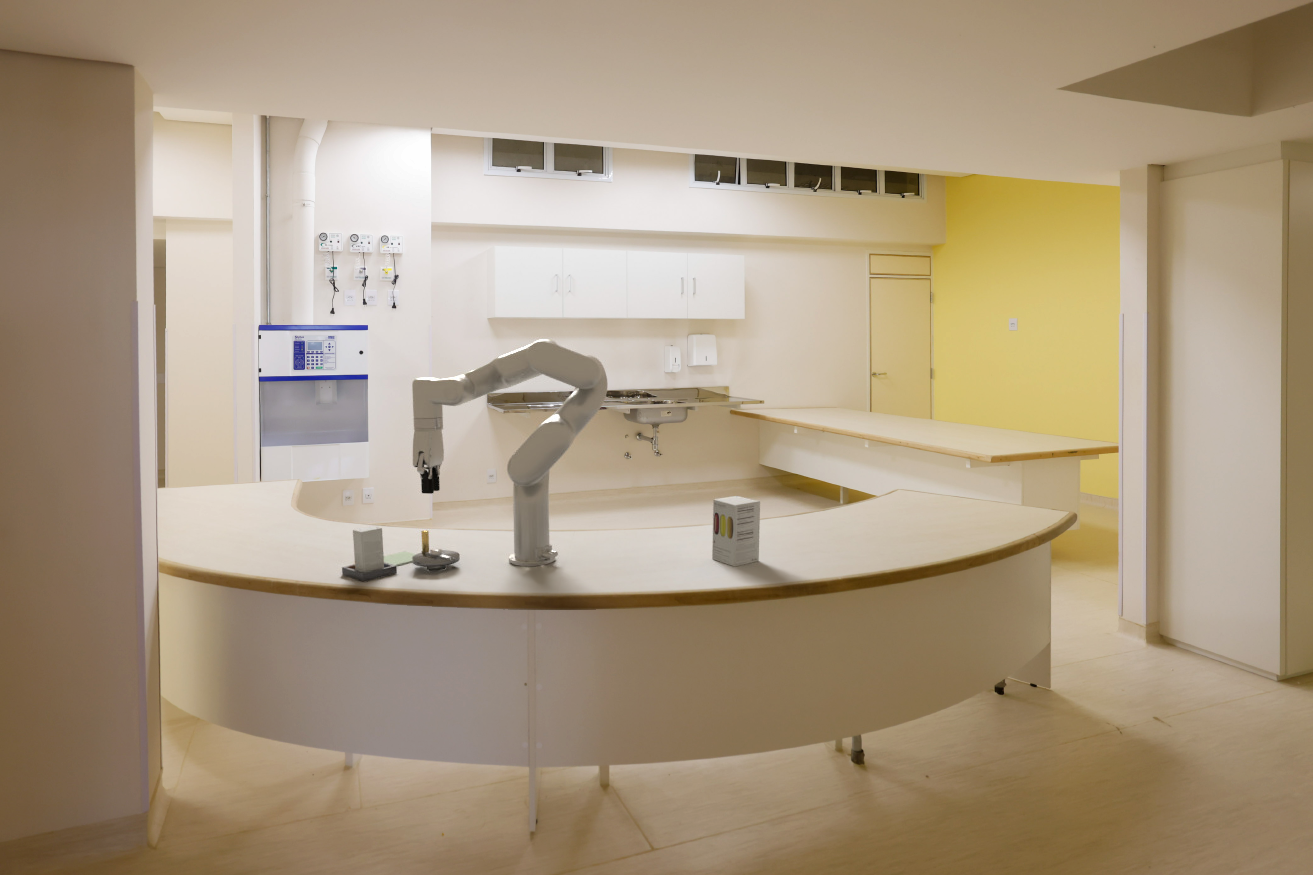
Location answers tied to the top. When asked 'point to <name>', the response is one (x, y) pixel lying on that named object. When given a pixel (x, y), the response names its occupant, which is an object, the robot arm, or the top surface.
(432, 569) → the wheel post
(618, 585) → the top surface
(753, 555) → the supplement box
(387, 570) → the dark grey square tray
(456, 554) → the handwheel
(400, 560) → the mat
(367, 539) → the skincare box
